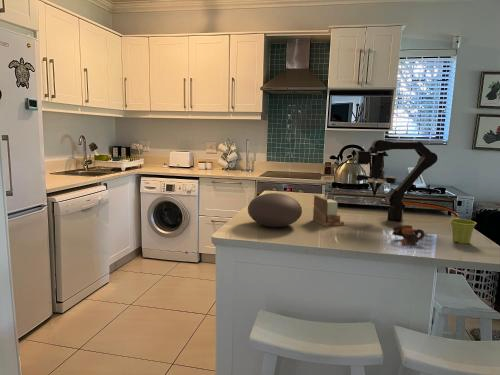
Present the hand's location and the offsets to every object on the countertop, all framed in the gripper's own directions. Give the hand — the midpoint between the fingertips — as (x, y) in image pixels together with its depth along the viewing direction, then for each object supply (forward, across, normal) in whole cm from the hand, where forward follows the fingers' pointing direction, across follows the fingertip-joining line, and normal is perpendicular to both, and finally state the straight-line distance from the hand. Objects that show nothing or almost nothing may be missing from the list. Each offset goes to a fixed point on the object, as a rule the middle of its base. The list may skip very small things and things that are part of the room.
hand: (374, 195), depth 190 cm
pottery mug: (+12, -22, +34) cm, 42 cm away
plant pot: (+12, -40, +19) cm, 46 cm away
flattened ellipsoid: (+12, +35, +42) cm, 56 cm away
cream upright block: (+10, +16, +21) cm, 28 cm away
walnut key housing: (+12, +16, +21) cm, 29 cm away
